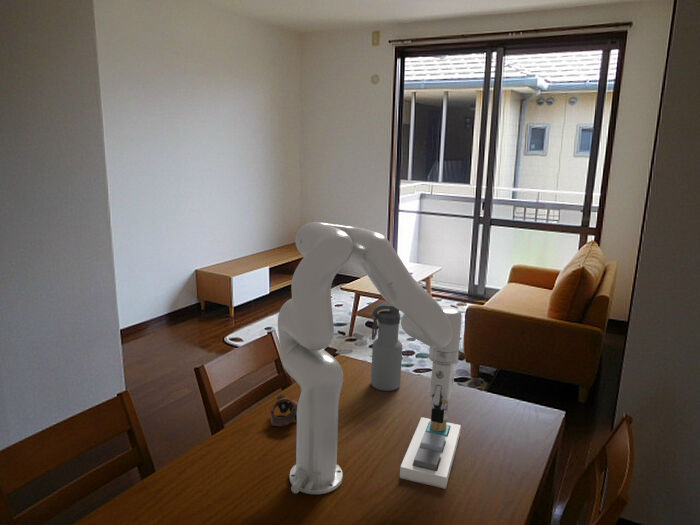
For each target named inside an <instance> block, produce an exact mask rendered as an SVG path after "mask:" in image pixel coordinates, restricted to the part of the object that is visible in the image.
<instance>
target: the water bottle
mask: <svg viewBox="0 0 700 525" xmlns="http://www.w3.org/2000/svg"><path fill="white" fill-rule="evenodd" d="M371 319H372V320H373V324H372V327H371V340H372V341H373V342H372V350H371V351H372V353H371V371H370V372H371V374H370V384H371V386H372V387H373V388H375V389H376V390H379V391H381V392H382V391H384V392H391V391H396V390H398V389H399V387H401V380H402V379H401V377H402V376H401V375H402V374H401V373H402V363H403V362H402V359H403V344H402V341H400V340H399V327H400V325H401V314H400V310H398V309H397V308H395V307H394V306H392V305H391V304H390V303H389V302H382V303H379V304H377V305H376V306H375V307H374V309H373V311H372V314H371ZM377 333H378V334H377ZM376 337H377V338H376Z"/></svg>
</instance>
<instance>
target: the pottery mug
mask: <svg viewBox="0 0 700 525" xmlns="http://www.w3.org/2000/svg"><path fill="white" fill-rule="evenodd" d="M297 405H298V401H297V400H294V399H292V398H289V397H285V396H284V395H283V394H280V395H278V396H277V397H276V400H275V401H274V402H273V404H272V406H271V407H270V411H269V412H270V423H271V425H272V427H275V426H276V427H284V426H287V425H290V424H291V423H297V419H296V416H297ZM276 408H278V409H279V412H280V414H286V413H287V412H288V411H289V413H288V414H286V415H285V416H281V417H280V416H279V417H278V416H276V415H275V414H274V412H275V409H276Z"/></svg>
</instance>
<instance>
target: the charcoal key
mask: <svg viewBox="0 0 700 525" xmlns="http://www.w3.org/2000/svg"><path fill="white" fill-rule="evenodd" d="M439 462H440V452H436V451H431V450H426V449H422V448H418V451H417V453H416V456H415V458H414V466H416V467H420V468H424V469H429V470H433V471H437V468H438V465H439Z"/></svg>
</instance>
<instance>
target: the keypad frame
mask: <svg viewBox="0 0 700 525" xmlns="http://www.w3.org/2000/svg"><path fill="white" fill-rule="evenodd" d="M430 421H431V418H427V417H422V416H421V417H420V420H419V422H418V424H417V427H416V428H415V431H414V434H413V436H412V439H411V441H410V443H409V446H408V448H407V451H406V452H405V455H404V457H403V460H402V463H401V464H400V467H399V468H400V469H399V478H400V479H403V480H406V481H410V482H415V483H419V484H423V485H429V486H432V487H436V488H440V489H444V490H446V489H447V485H448V482H449V478H450V474H451V470H452V467H453V464H454V458H455V456H456V451H457V447H458V443H459V439H460V436H461V426H462V425H461V424H456V423H452V422H447V423H446V424H447V425H450V427H449V434H448V437H445V445H444V449H443V452H442V453H440V462H439V465H438V468H437V471H433V470H429V469H424V468H420V467H416V466H414V458H415V456H416V453H417V451H418V448H420V445H421V440H422V438H423V435H424V433H425V432H426V431H427V428H428V425H429V423H430Z"/></svg>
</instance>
